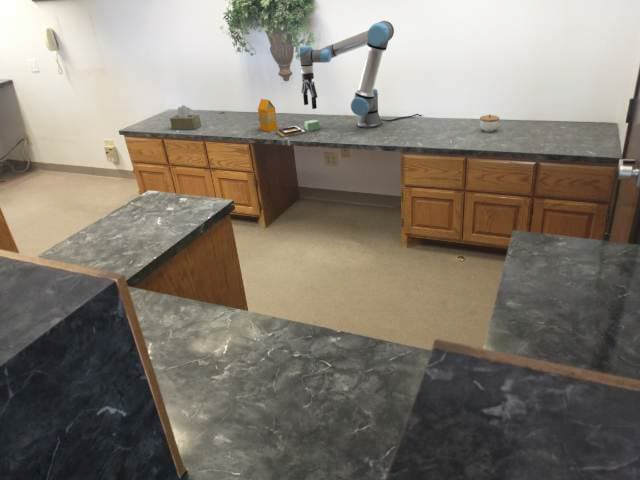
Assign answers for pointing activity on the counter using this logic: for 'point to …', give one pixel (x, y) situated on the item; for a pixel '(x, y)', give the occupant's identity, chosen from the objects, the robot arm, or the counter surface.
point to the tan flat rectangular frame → (289, 131)
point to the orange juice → (267, 116)
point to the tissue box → (185, 120)
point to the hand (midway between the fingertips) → (310, 106)
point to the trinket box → (489, 122)
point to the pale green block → (312, 125)
